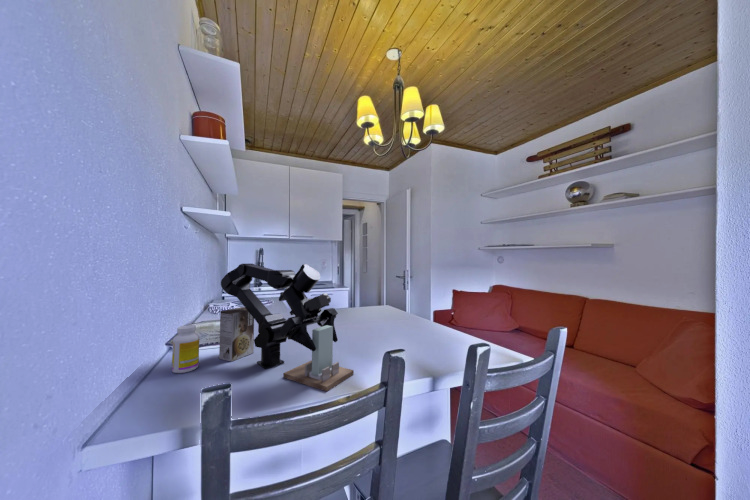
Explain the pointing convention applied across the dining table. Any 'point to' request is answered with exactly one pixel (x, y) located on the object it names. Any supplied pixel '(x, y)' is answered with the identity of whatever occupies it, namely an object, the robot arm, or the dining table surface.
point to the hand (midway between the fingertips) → (326, 345)
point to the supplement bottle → (185, 350)
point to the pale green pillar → (322, 350)
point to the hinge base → (328, 379)
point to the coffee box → (236, 334)
